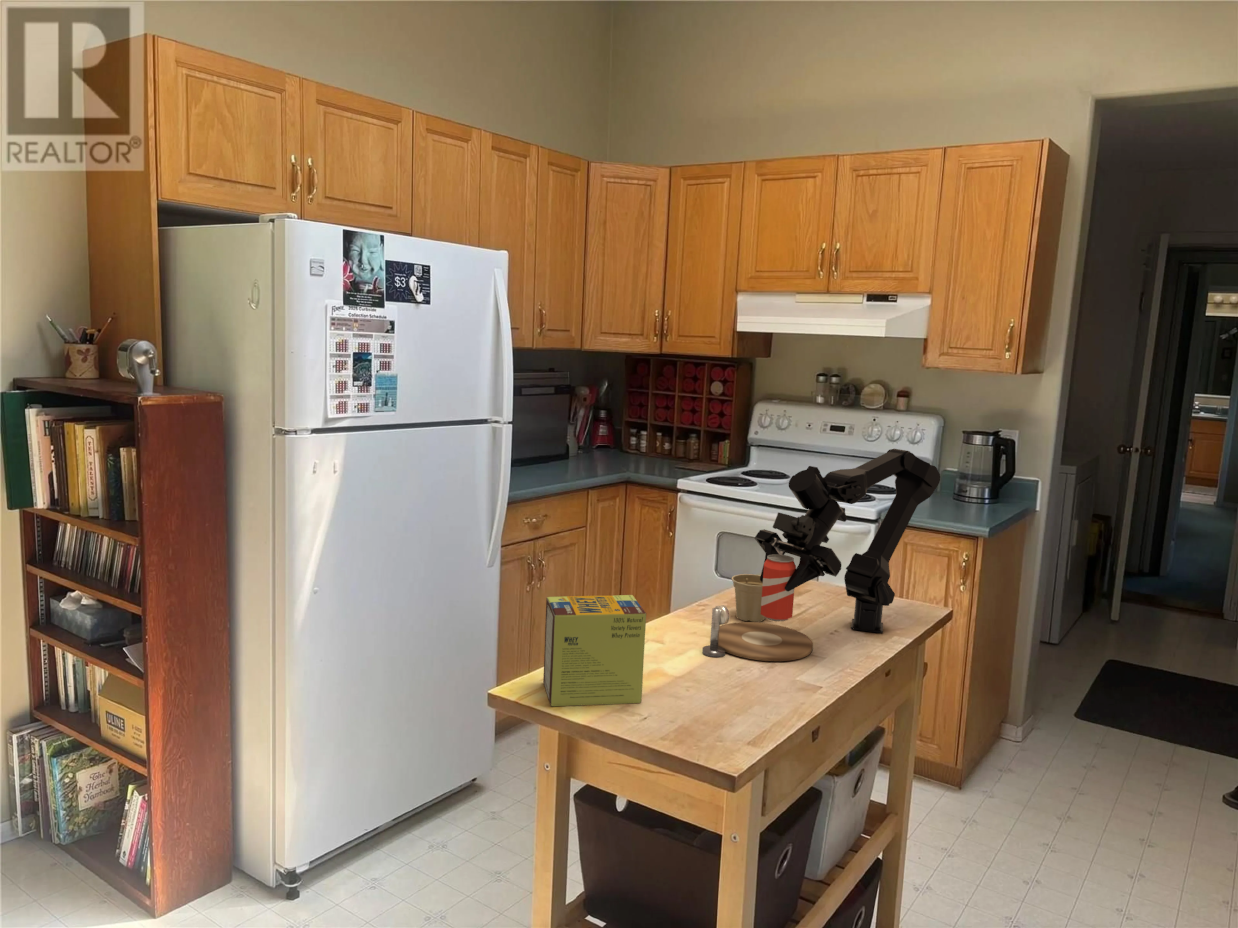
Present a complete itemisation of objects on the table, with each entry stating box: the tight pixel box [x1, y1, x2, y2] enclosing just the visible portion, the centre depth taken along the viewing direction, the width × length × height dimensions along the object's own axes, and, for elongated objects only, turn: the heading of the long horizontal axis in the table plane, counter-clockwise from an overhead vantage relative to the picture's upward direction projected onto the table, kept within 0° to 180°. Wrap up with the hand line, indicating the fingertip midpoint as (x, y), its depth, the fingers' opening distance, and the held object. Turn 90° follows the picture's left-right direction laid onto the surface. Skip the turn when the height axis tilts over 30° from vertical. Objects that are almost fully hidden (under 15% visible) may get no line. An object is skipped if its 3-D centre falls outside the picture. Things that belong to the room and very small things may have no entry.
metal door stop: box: [701, 605, 730, 658], centre depth 173 cm, size 4×4×9 cm
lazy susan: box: [718, 621, 814, 662], centre depth 180 cm, size 20×20×1 cm
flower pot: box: [731, 573, 766, 623], centre depth 196 cm, size 9×9×9 cm
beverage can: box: [761, 554, 797, 622], centre depth 175 cm, size 6×6×12 cm
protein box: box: [542, 594, 647, 707], centre depth 151 cm, size 10×15×16 cm
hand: (773, 585), depth 174 cm, fingers closed on beverage can, 6 cm apart
